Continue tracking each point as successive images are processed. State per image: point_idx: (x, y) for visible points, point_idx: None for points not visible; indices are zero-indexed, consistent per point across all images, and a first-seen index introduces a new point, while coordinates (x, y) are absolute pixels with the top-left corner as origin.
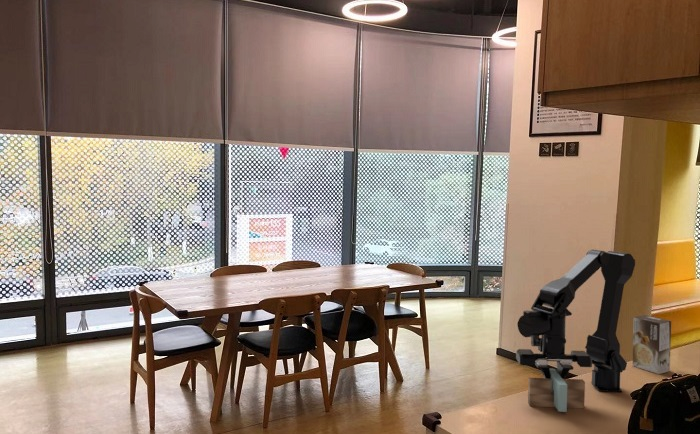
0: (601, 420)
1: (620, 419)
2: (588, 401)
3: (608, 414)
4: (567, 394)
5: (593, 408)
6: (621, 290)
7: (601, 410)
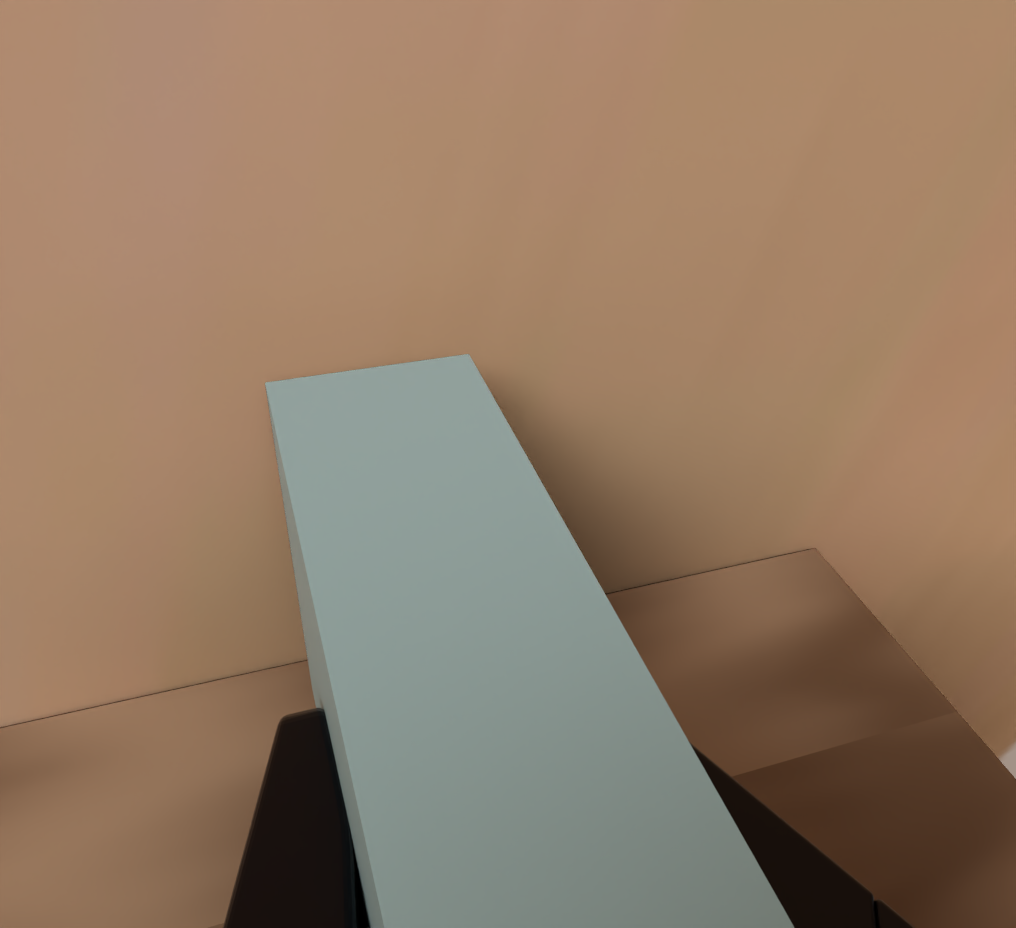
0: None
1: (992, 749)
2: (1004, 380)
3: (962, 691)
4: None
5: (905, 599)
6: None
7: (962, 622)
